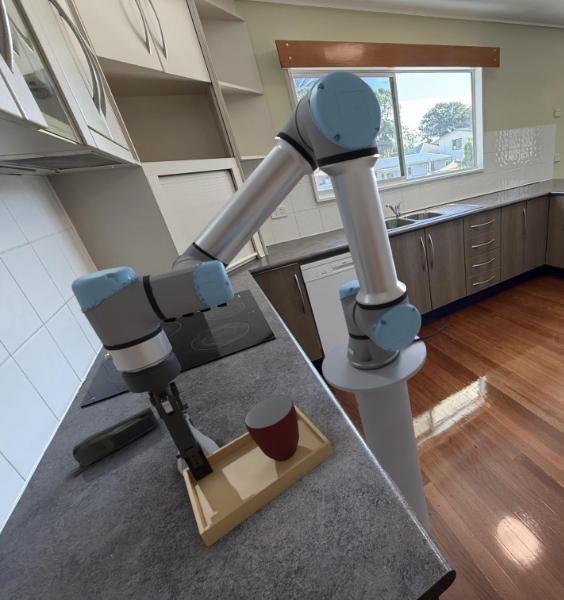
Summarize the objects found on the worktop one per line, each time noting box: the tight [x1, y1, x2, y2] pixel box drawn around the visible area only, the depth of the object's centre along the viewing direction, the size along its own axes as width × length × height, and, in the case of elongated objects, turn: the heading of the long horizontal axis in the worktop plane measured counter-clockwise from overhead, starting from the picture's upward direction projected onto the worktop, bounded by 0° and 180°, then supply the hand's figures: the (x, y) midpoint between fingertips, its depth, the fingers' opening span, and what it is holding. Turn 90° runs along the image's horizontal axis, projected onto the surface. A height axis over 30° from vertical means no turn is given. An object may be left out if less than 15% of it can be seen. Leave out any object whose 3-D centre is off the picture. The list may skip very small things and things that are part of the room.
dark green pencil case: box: [71, 407, 159, 475], centre depth 66 cm, size 5×3×15 cm
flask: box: [177, 412, 221, 477], centre depth 59 cm, size 7×7×10 cm
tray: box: [182, 404, 334, 548], centre depth 56 cm, size 21×15×3 cm
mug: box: [244, 394, 299, 461], centre depth 57 cm, size 11×8×10 cm
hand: (197, 456), depth 60 cm, fingers open, 11 cm apart
